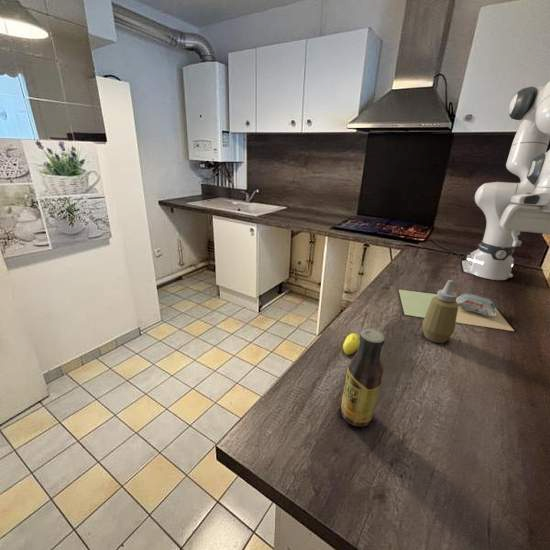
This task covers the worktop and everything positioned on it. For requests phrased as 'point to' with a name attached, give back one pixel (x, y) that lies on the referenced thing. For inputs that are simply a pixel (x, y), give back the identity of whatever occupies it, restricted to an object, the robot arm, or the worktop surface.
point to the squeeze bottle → (441, 315)
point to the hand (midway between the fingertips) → (535, 248)
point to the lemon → (351, 343)
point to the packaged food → (477, 304)
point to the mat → (420, 302)
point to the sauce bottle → (363, 380)
